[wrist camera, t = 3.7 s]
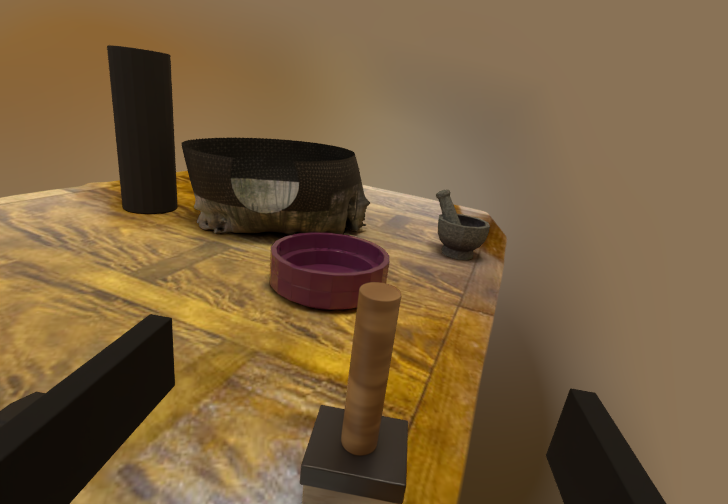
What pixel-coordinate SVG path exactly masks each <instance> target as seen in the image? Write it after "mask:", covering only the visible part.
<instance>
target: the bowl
mask: <svg viewBox="0 0 728 504" xmlns="http://www.w3.org/2000/svg"><path fill="white" fill-rule="evenodd" d="M388 268H389V255H388V253H387V252H386V251H385V250H384V249H383V248H381V247H380V246H378V245H376V244H375V243H372V242H370V241H367V240H364V239H361V238H357V237H353V236H349V235H343V234H335V233H318V232H312V233H299V234H295V235H290V236H286V237H283V238H281V239H279V240H277V241H275V243H274V244H273V245H272V246H271V254H270V285H271V286H272V288H273V289H274V290H275V291H276V292H277V293H278V294H279V295H281V296H283V297H285V298H287V299H288V300H290V301H293V302H296V303H298V304H301V305H304V306H307V307H312V308H317V309H325V310H344V309H352V308H356V307H357V305H358V296H359V289H360V287H361V286H362V285H363V284H366V283H371V282H379V283H385V284H386V281H387V275H388Z"/></svg>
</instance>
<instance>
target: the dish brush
mask: <svg viewBox="0 0 728 504" xmlns="http://www.w3.org/2000/svg"><path fill="white" fill-rule="evenodd" d="M400 301H401V292H400V290H399V289H397V288H396V287H394V286H392V285H389V284H385V283H379V282H371V283H366V284H363V285H362V286H361V287H360V289H359V296H358V305H357V313H356V321H355V329H354V337H353V345H352V354H351V362H350V370H349V378H348V386H347V395H346V403H345V409H341V408H335V407H330V406H324V405H321V406H320V409H319V412H318V416H317V419H316V422H315V425H314V428H313V431H312V434H311V437H310V440H309V443H308V446H307V449H306V452H305V455H304V458H303V461H302V464H301V474H300V484H301V485H303V496H302V504H402V503H403V499H404V494H405V489H406V472H407V437H408V421H406V420H401V419H395V418H390V417H384V416H382V411H383V405H384V399H385V393H386V387H387V380H388V374H389V368H390V362H391V356H392V350H393V344H394V337H395V331H396V325H397V319H398V313H399V307H400Z"/></svg>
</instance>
